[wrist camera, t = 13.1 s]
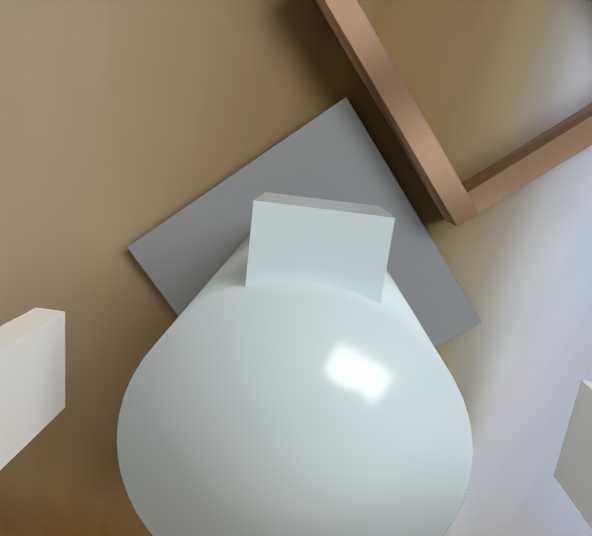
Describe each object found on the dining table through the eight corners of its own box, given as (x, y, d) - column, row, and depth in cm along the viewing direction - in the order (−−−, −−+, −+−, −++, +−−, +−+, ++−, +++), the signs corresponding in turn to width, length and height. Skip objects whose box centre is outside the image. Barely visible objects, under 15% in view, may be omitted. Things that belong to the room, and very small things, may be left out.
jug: (241, 168, 21) (123, 187, 8) (398, 186, 21) (528, 237, 8) (218, 433, 24) (107, 744, 11) (354, 451, 24) (396, 785, 11)
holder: (698, 64, 20) (740, 54, 18) (444, 219, 21) (457, 226, 20) (570, -223, 17) (603, -271, 15) (302, -22, 19) (300, -42, 17)
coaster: (476, 317, 22) (481, 321, 22) (271, 433, 24) (270, 440, 24) (345, 98, 20) (346, 96, 20) (132, 244, 22) (127, 247, 22)
